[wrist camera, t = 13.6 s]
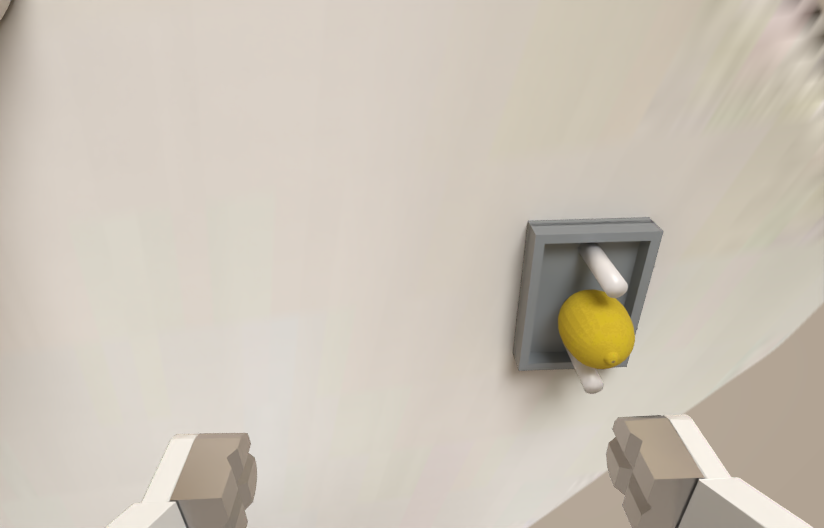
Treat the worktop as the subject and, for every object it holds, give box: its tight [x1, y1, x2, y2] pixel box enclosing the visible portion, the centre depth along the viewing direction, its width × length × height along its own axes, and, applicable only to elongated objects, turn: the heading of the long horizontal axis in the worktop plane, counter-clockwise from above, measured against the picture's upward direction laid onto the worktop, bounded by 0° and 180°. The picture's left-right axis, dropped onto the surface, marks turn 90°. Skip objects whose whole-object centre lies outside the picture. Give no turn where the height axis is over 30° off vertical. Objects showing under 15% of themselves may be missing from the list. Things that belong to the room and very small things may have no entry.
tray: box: [513, 217, 663, 394], centre depth 42 cm, size 14×10×7 cm
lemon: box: [558, 289, 635, 369], centre depth 41 cm, size 6×6×8 cm
